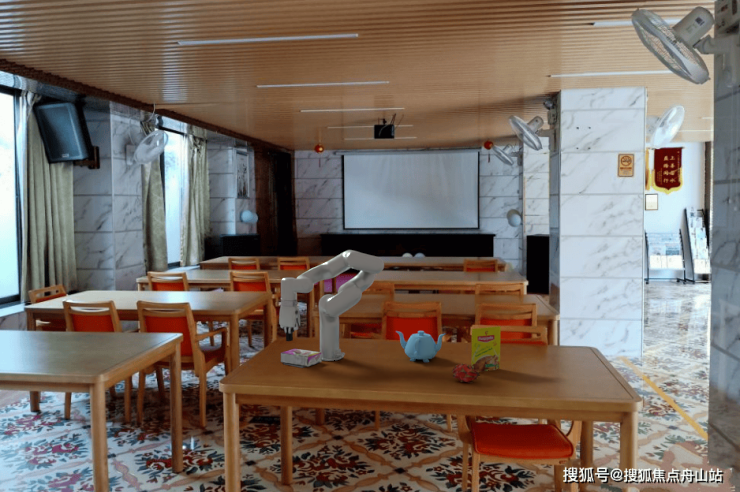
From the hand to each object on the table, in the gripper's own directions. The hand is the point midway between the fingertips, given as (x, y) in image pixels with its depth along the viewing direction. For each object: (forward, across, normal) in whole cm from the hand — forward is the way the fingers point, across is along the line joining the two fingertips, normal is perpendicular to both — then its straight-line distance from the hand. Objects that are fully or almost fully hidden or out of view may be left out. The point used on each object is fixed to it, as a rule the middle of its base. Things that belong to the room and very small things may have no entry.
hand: (289, 340), depth 287 cm
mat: (+10, -7, +1) cm, 12 cm away
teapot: (+10, -50, -40) cm, 65 cm away
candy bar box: (+7, +2, 0) cm, 7 cm away
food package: (+11, -85, -39) cm, 94 cm away
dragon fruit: (+10, -85, -18) cm, 88 cm away
